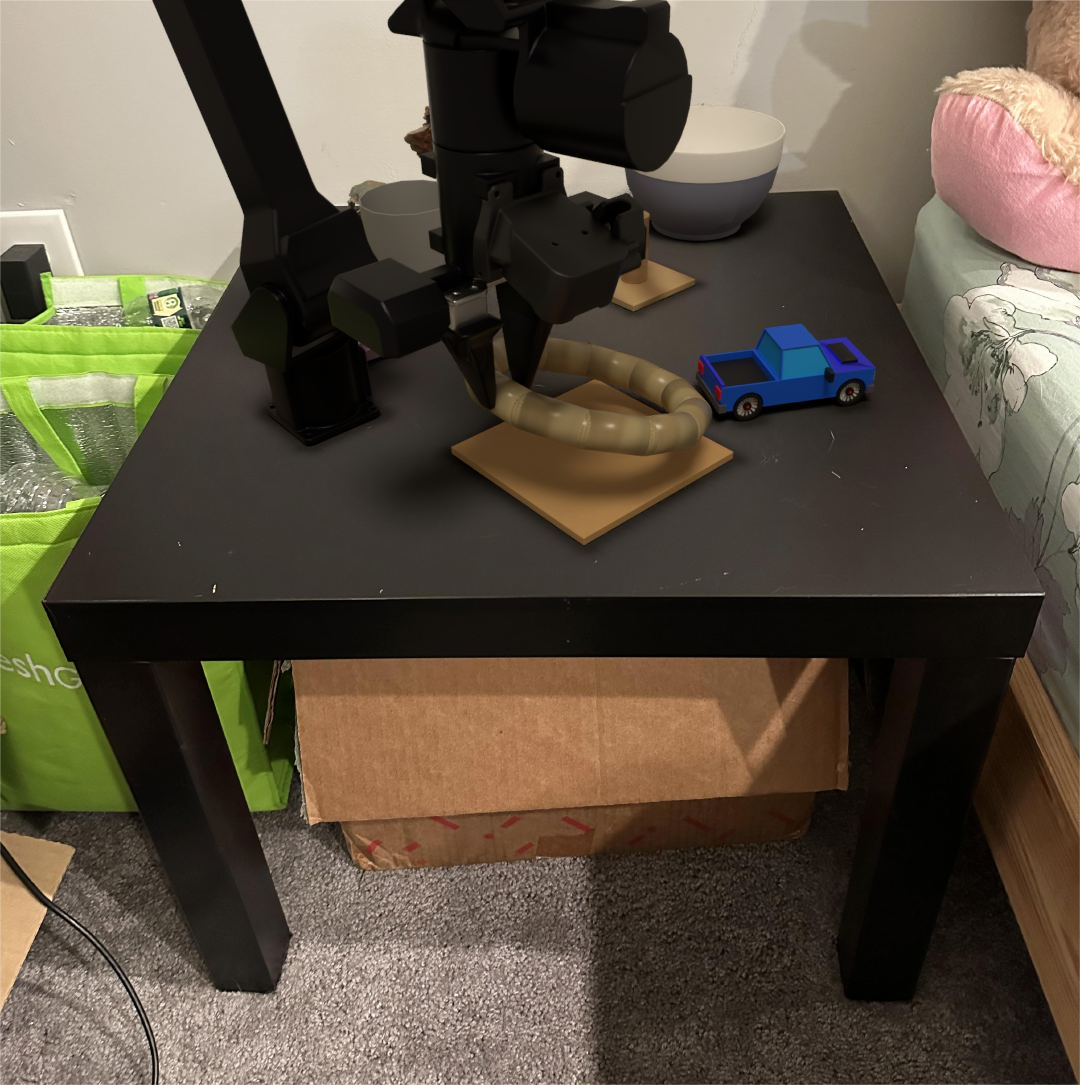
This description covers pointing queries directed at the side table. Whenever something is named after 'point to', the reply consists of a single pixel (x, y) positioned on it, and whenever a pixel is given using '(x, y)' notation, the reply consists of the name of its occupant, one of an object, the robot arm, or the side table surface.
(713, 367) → the toy car
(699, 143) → the bowl
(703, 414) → the segmented tan ring
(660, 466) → the mat
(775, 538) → the side table surface
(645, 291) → the ring toss peg
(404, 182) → the cup
